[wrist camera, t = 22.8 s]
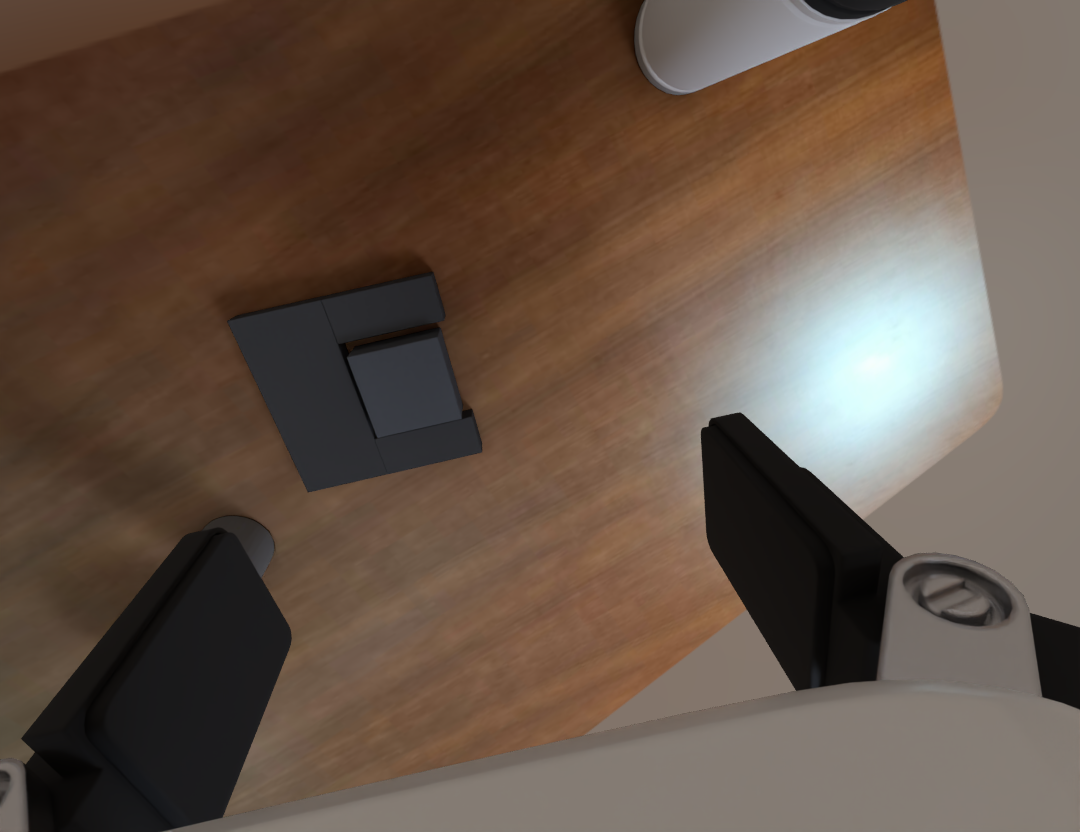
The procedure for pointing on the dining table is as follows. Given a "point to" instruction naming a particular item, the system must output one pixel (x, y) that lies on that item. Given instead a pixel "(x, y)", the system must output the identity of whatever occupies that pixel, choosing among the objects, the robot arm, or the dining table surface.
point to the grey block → (406, 382)
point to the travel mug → (733, 35)
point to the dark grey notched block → (343, 382)
